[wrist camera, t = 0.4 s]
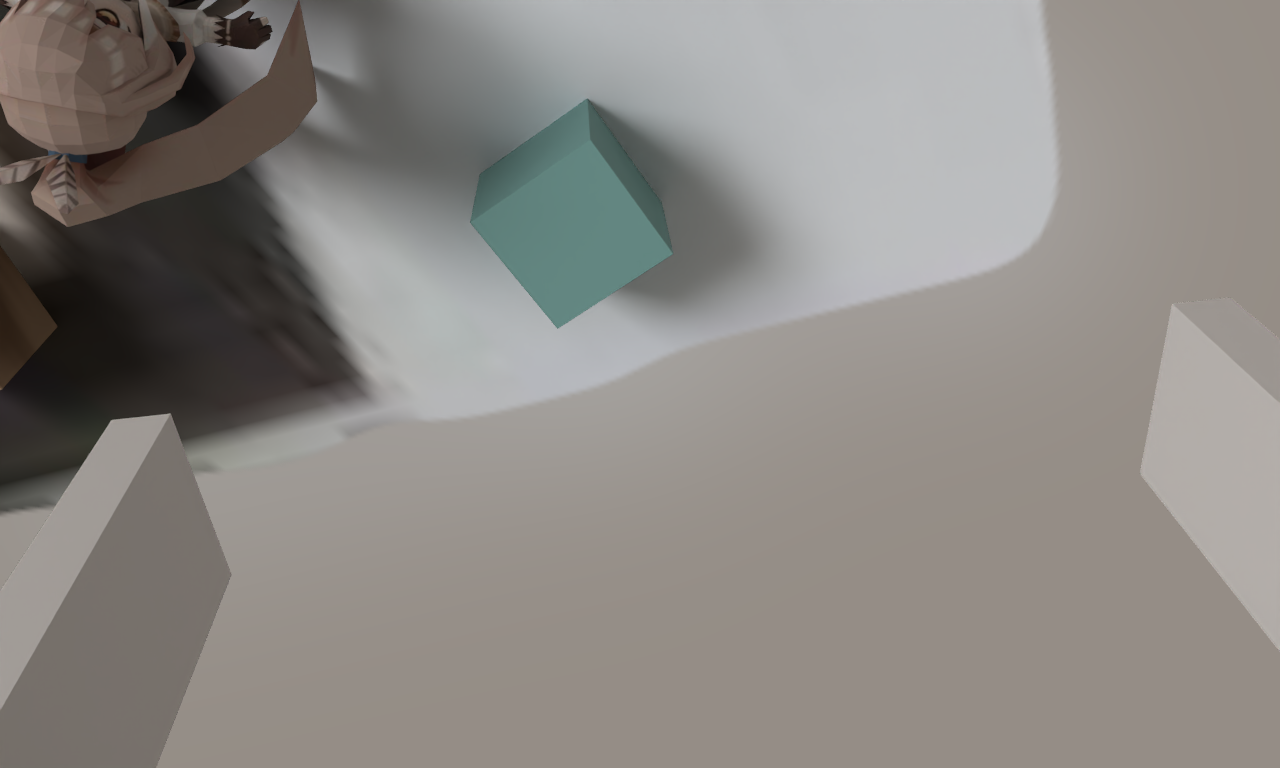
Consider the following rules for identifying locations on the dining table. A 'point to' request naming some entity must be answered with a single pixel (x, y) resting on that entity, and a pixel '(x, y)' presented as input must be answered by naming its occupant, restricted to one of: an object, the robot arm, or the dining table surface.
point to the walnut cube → (19, 321)
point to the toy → (136, 98)
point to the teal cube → (571, 215)
